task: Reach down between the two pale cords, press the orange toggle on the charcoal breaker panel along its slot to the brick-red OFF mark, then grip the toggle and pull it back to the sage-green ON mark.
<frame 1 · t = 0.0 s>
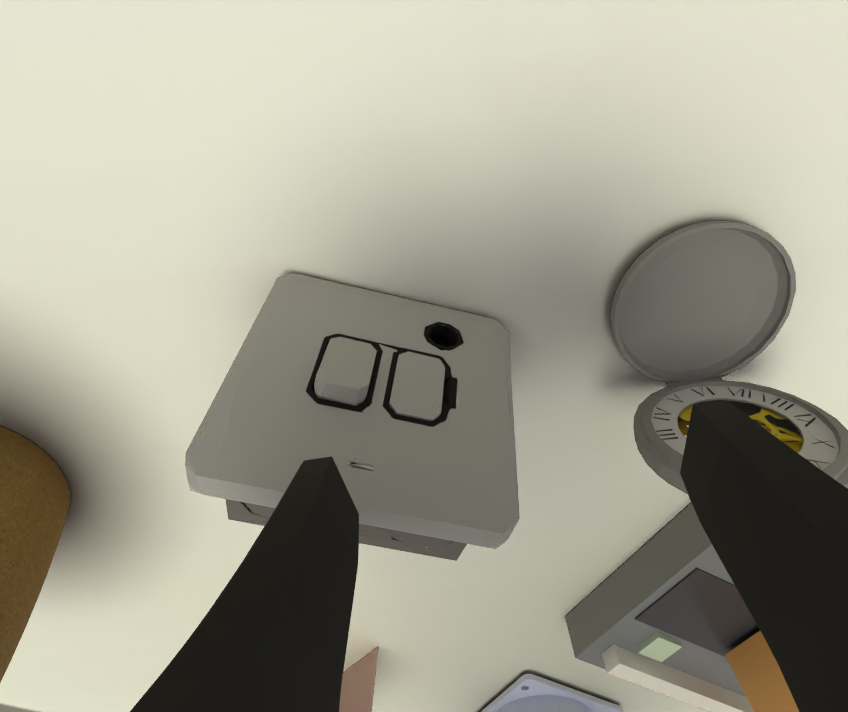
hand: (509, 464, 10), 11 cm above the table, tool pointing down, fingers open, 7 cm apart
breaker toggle: (810, 699, 23), point 5 cm above the table, slide at 0.0 cm
pocket watch: (681, 326, 20), on the table
plant pot: (2, 472, 25), on the table
greeting card: (292, 665, 32), on the table
breaker panel: (748, 599, 28), on the table
electrical switch: (390, 350, 21), on the table
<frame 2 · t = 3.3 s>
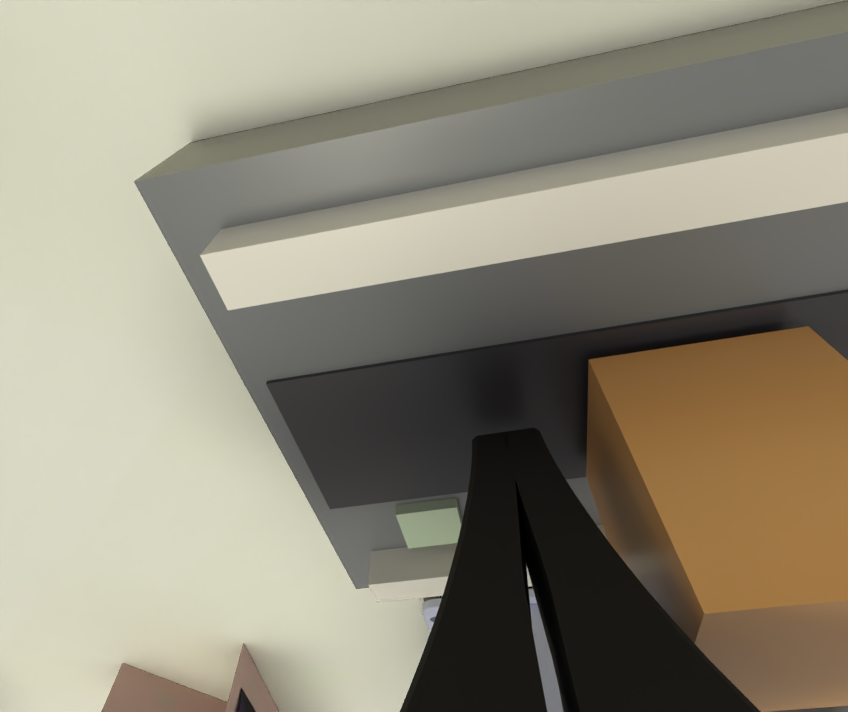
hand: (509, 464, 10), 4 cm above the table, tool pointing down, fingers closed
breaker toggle: (743, 507, 8), point 5 cm above the table, slide at -1.0 cm, touching gripper
greeting card: (216, 685, 27), on the table
breaker panel: (596, 341, 13), on the table
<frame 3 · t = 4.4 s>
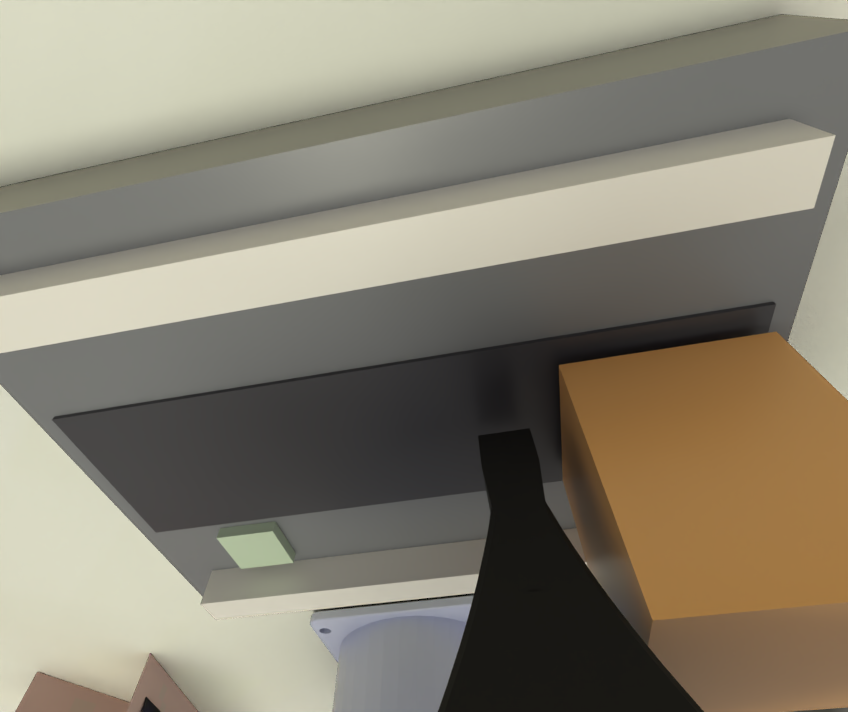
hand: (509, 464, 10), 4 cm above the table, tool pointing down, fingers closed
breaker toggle: (709, 512, 8), point 5 cm above the table, slide at -5.4 cm, touching gripper
greeting card: (136, 693, 27), on the table
breaker panel: (408, 371, 13), on the table
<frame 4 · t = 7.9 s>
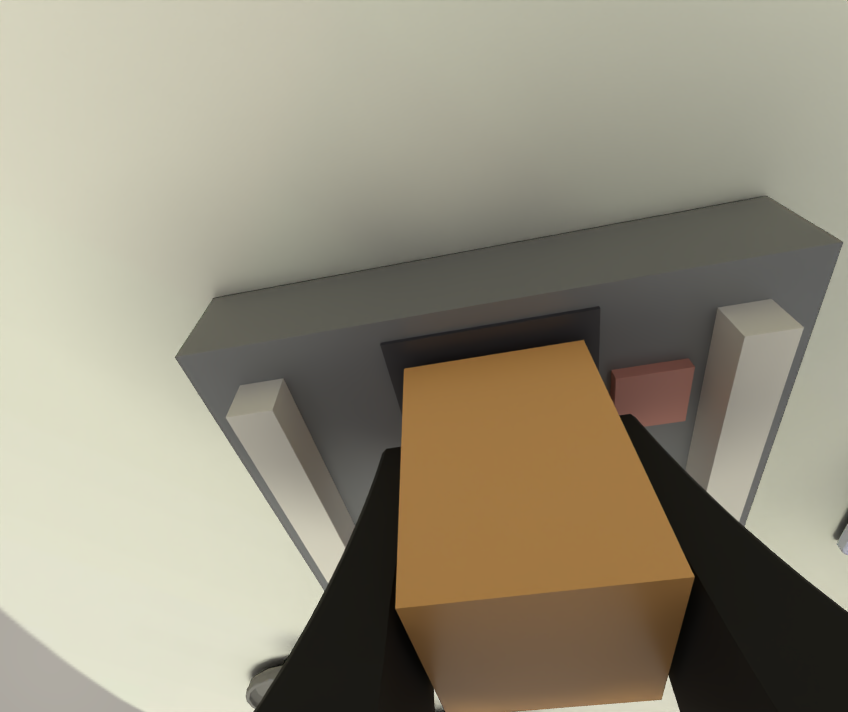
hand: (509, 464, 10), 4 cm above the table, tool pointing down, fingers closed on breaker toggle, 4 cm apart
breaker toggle: (519, 517, 9), point 5 cm above the table, slide at -5.0 cm, touching gripper
pocket watch: (327, 670, 26), on the table
breaker panel: (505, 469, 16), on the table
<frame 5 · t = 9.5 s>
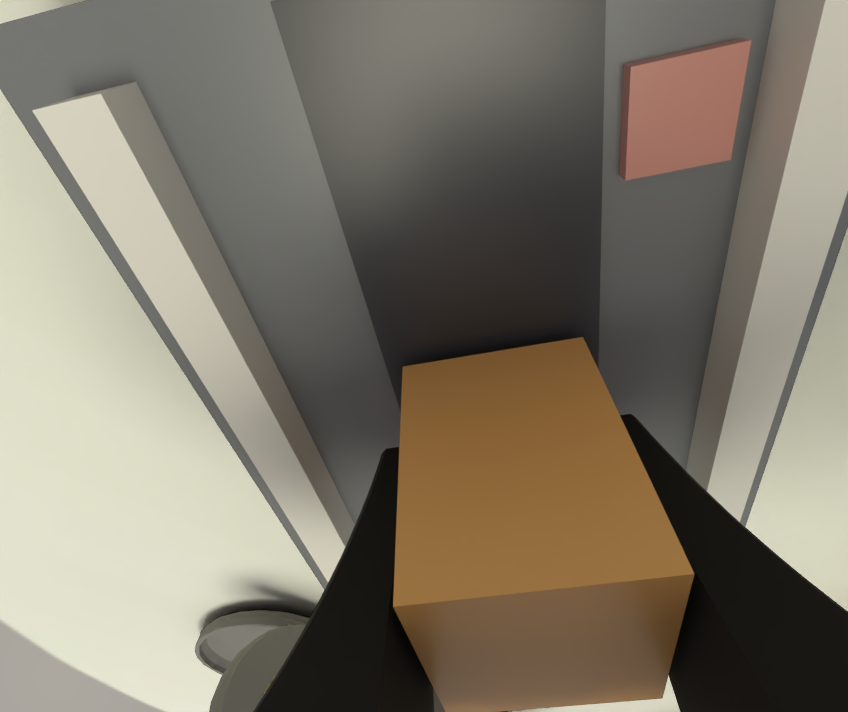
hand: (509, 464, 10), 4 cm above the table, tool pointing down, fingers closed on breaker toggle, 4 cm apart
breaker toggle: (519, 515, 9), point 5 cm above the table, slide at 0.7 cm, touching gripper
pocket watch: (291, 622, 23), on the table
breaker panel: (483, 327, 13), on the table
electrical switch: (468, 687, 28), on the table
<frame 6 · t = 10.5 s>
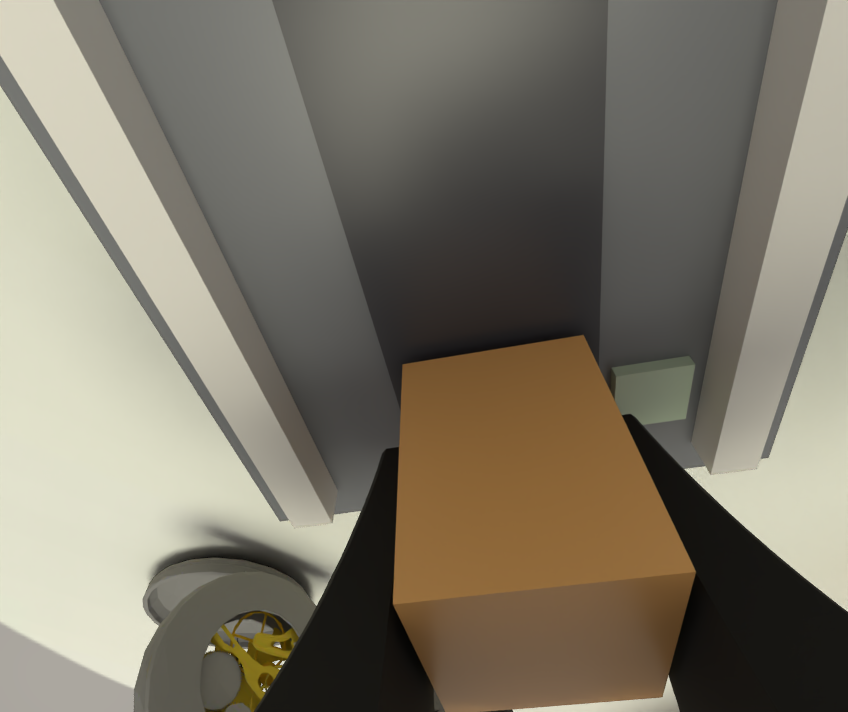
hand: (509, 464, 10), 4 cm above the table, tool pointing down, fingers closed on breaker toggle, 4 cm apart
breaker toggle: (519, 513, 9), point 5 cm above the table, slide at 4.9 cm, touching gripper
pocket watch: (253, 576, 21), on the table
breaker panel: (459, 160, 10), on the table
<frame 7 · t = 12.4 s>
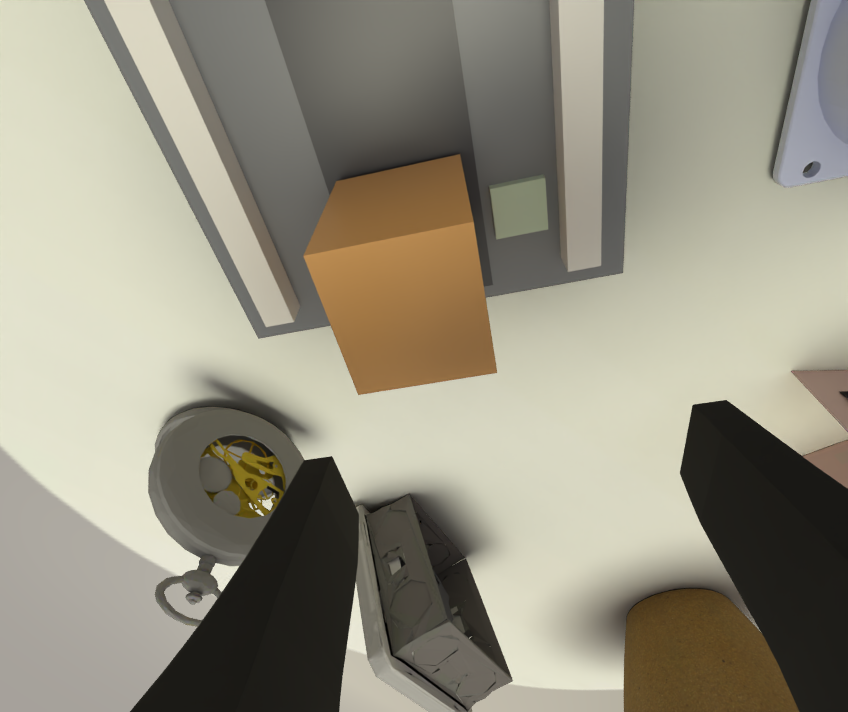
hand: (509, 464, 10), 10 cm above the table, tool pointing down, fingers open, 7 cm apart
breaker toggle: (410, 270, 13), point 5 cm above the table, slide at 5.0 cm
pocket watch: (245, 433, 25), on the table
plant pot: (673, 609, 36), on the table
breaker panel: (376, 34, 14), on the table
electrical switch: (422, 527, 30), on the table
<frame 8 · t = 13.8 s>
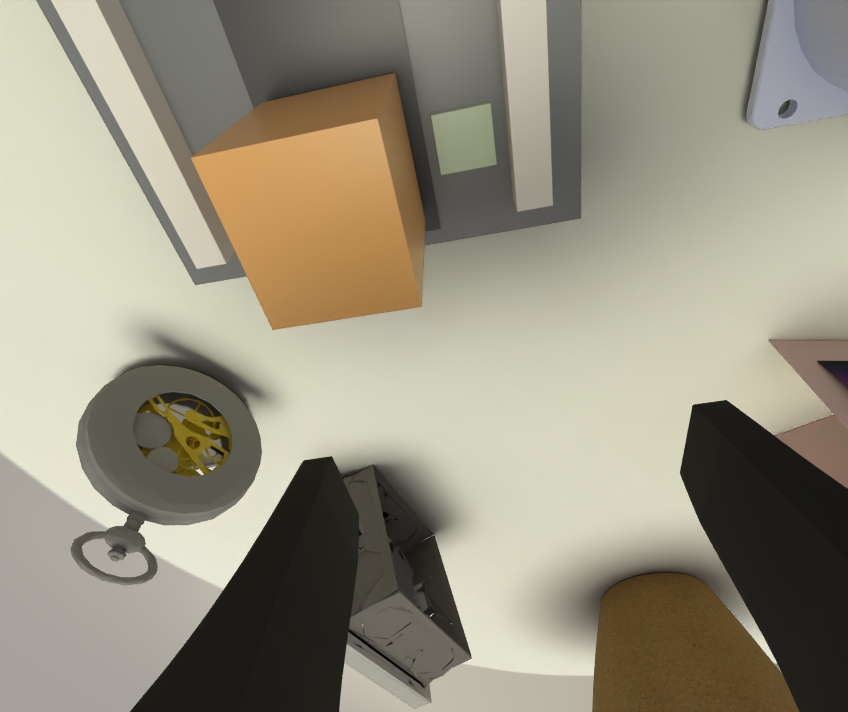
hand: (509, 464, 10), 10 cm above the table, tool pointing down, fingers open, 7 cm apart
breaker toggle: (336, 196, 12), point 5 cm above the table, slide at 5.0 cm
pocket watch: (199, 396, 24), on the table
plant pot: (649, 593, 35), on the table
electrical switch: (388, 501, 29), on the table
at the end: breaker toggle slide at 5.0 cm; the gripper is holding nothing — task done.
